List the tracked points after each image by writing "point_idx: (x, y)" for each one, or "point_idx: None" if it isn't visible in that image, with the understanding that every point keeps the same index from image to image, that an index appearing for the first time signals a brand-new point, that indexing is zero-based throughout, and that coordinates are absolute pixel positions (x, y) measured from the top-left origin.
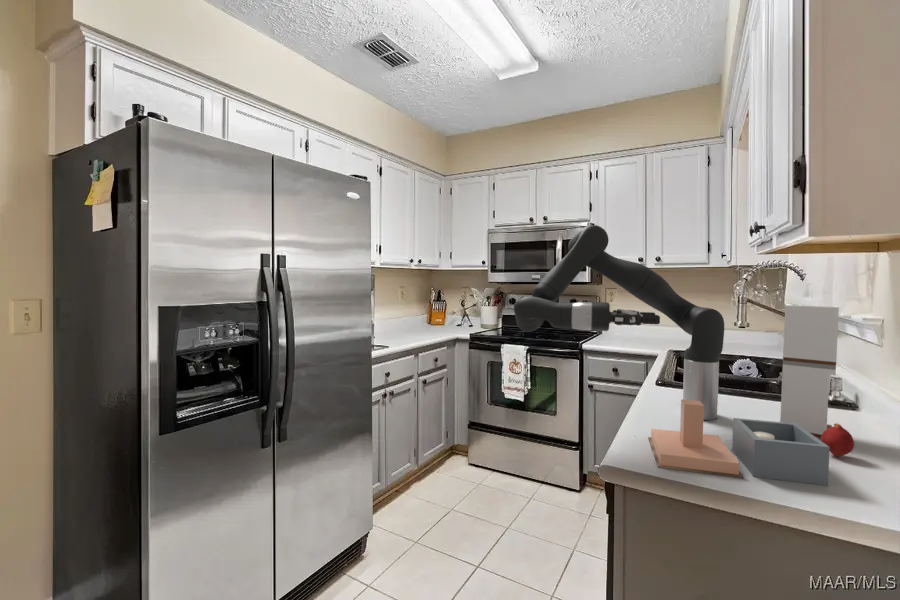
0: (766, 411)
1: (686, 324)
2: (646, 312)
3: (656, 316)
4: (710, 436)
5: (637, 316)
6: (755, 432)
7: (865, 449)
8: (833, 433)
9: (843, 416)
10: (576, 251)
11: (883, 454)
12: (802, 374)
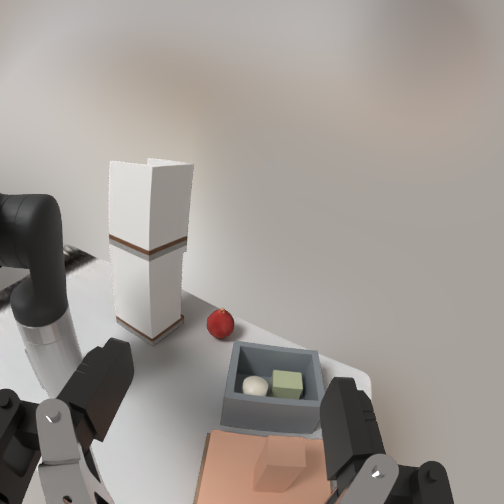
0: (74, 310)
1: (6, 250)
2: (105, 375)
3: (353, 391)
4: (219, 441)
5: (440, 480)
6: (248, 390)
7: (194, 309)
8: (227, 321)
9: (107, 272)
10: None
11: (206, 305)
12: (164, 265)
